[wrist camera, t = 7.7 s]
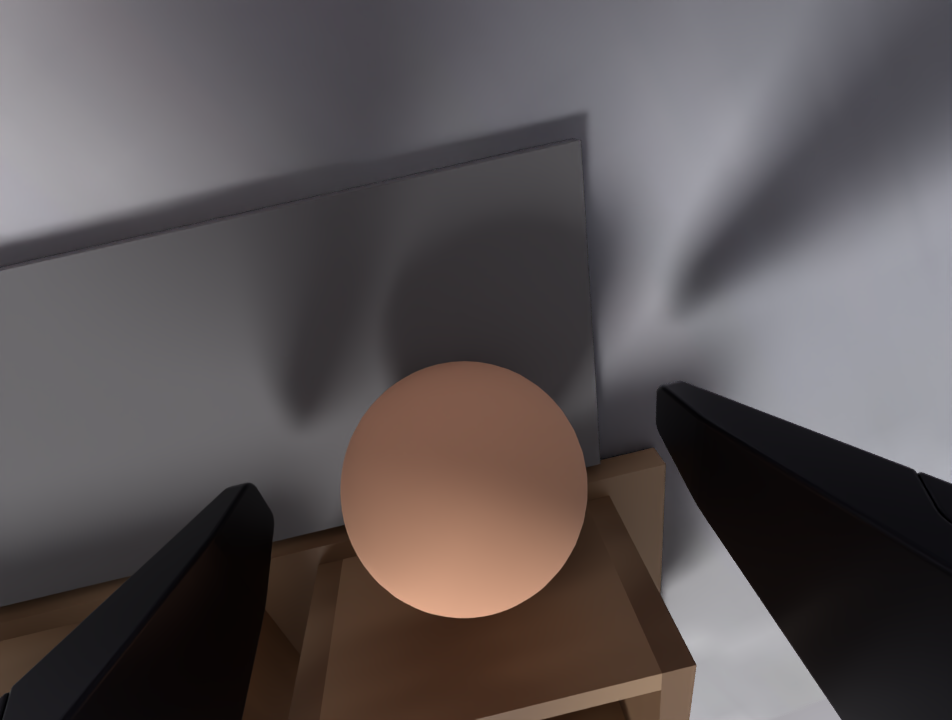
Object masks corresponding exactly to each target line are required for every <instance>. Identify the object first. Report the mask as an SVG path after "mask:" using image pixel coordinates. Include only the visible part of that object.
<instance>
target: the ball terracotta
mask: <svg viewBox="0 0 952 720" xmlns="http://www.w3.org/2000/svg"><path fill="white" fill-rule="evenodd" d="M340 494H341V507H342V514H343V519H344V523H345V527H346V530H347V534H348V536H349V539H350V541H351V544H352V546H353V548H354V550H355V552H356V554H357V556H358V557H359V559H360V561H361V562H362V564H363V565H364V567H365V568H366V569H367V570H368V572H369V573H370V574H371V575H372V577H373V578H374V579H375V580H376V581H377V582H378V583H379V584H380V585H381V586H382V587H384V588H385V589H386V590H387V591H388V592H390V593H391V594H392V595H393V596H395V597H396V598H398V599H399V600H401V601H403V602H404V603H406V604H408V605H410V606H412V607H414V608H417V609H419V610H421V611H424V612H427V613H430V614H435V615H440V616H445V617H452V618H476V617H483V616H488V615H493V614H496V613H500V612H502V611H505V610H508V609H510V608H512V607H514V606H517V605H518V604H520V603H522V602H524V601H525V600H527V599H529V598H530V597H532V596H533V595H535V594H536V593H537V592H539V591H540V590H541V589H542V588H543V587H545V586H546V585H547V584H548V583H549V581H550V580H551V579H552V578H553V577H554V576H555V575H556V574H557V573H558V572H559V571H560V569H561V568H562V567H563V565H564V564H565V562H566V561H567V559H568V557H569V556H570V554H571V552H572V550H573V548H574V547H575V545H576V542H577V539H578V537H579V534H580V531H581V528H582V525H583V522H584V517H585V511H586V505H587V472H586V466H585V461H584V456H583V452H582V449H581V446H580V444H579V441H578V438H577V436H576V433H575V431H574V429H573V427H572V426H571V424H570V422H569V421H568V419H567V417H566V416H565V414H564V413H563V411H562V410H561V409H560V407H559V406H558V405H557V404H556V403H555V402H554V400H553V399H552V398H551V397H550V396H549V395H548V394H547V393H545V392H544V391H543V390H542V389H541V388H540V387H538V386H537V385H536V384H534V383H533V382H531V381H529V380H528V379H526V378H525V377H523V376H521V375H520V374H518V373H515V372H513V371H511V370H509V369H506V368H502V367H499V366H496V365H492V364H487V363H482V362H472V361H457V362H447V363H442V364H437V365H433V366H430V367H426V368H424V369H421V370H419V371H416V372H414V373H412V374H410V375H408V376H407V377H405V378H403V379H401V380H400V381H398V382H397V383H395V384H394V385H393V386H391V387H390V388H389V389H387V390H386V391H385V392H384V393H383V394H382V395H381V396H380V397H379V398H378V399H377V400H376V401H375V402H374V403H373V404H372V405H371V406H370V408H369V409H368V410H367V412H366V413H365V414H364V416H363V417H362V418H361V420H360V422H359V424H358V426H357V427H356V429H355V431H354V433H353V435H352V437H351V439H350V442H349V445H348V448H347V451H346V454H345V458H344V462H343V467H342V473H341V484H340Z"/></svg>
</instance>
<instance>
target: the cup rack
mask: <svg viewBox="0 0 952 720" xmlns="http://www.w3.org/2000/svg"><path fill="white" fill-rule="evenodd" d="M600 462H601V464H598V465H594V466H590V467H586V472H587V505H586V511H585V517H584V522H583V525H582V528H581V531H580V534H579V537H578V539H577V542H576V545H575V547H574V548H573V550H572V552H571V554H570V556H569V557H568V559H567V561H566V562H565V564H564V565H563V567H562V568H561V569H560V571H559V572H558V573H557V574H556V575H555V576H554V577H553V578H552V579H551V580H550V581H549V583H548V584H547V585H546V586H545V587H543V588H542V589H541V590H540V591H539V592H537V593H536V594H535V595H533V596H532V597H530V598H529V599H527V600H525V601H524V602H522V603H520V604H518V605H517V606H514V607H512V608H510V609H508V610H505V611H502V612H500V613H496V614H493V615H488V616H483V617H476V618H452V617H445V616H440V615H435V614H430V613H427V612H424V611H421V610H419V609H417V608H414V607H412V606H410V605H408V604H406V603H404V602H403V601H401V600H399V599H398V598H396V597H395V596H393V595H392V594H391V593H390V592H388V591H387V590H386V589H385V588H384V587H382V586H381V585H380V584H379V583H378V582H377V581H376V580H375V579H374V578H373V577H372V575H371V574H370V573H369V572H368V570H367V569H366V568H365V567H364V565H363V564H362V562H361V561H360V559H359V557H358V556H357V554H356V552H355V550H354V548H353V546H352V544H351V541H350V539H349V536H348V534H347V530H346V527H345V525H342V526H338V527H334V528H329V529H325V530H321V531H317V532H313V533H308V534H304V535H300V536H296V537H292V538H287V539H283V540H279V541H275V542H273V544H272V553H271V563H270V572H269V582H268V592H267V600H266V607H265V613H264V618H263V623H262V628H261V633H260V637H259V642H258V647H257V652H256V656H255V661H254V666H253V670H252V675H251V680H250V685H249V689H248V694H247V699H246V703H245V708H244V713H243V718H242V720H689V717H690V709H691V702H692V694H693V687H694V679H695V672H696V663H695V661H694V659H693V657H692V656H691V654H690V652H689V650H688V648H687V646H686V644H685V642H684V640H683V638H682V636H681V634H680V632H679V630H678V628H677V626H676V624H675V622H674V620H673V619H672V617H671V615H670V613H669V611H668V609H667V607H666V605H665V603H664V601H663V599H662V597H661V595H660V591H661V568H662V544H663V520H664V496H665V473H666V464H665V462H664V461H663V460H662V458H661V457H660V455H659V454H658V453H657V451H656V450H655V448H650V449H645V450H641V451H637V452H633V453H629V454H624V455H620V456H616V457H612V458H608V459H603V460H600ZM130 577H131V576H128V577H124V578H119V579H115V580H111V581H107V582H103V583H98V584H94V585H90V586H86V587H82V588H77V589H73V590H69V591H65V592H61V593H56V594H52V595H48V596H44V597H40V598H35V599H31V600H27V601H23V602H19V603H14V604H10V605H6V606H2V607H0V697H1V696H2V695H3V694H5V693H8V692H10V689H11V687H12V686H13V685H14V684H15V683H16V682H17V681H19V680H20V679H21V678H22V677H23V676H24V675H25V674H26V673H27V672H28V671H29V670H30V669H31V668H33V667H34V666H35V665H36V664H37V663H38V662H39V661H40V660H41V659H42V658H43V657H44V656H45V655H47V654H48V653H49V652H50V651H51V650H52V649H53V648H54V647H55V646H56V645H57V644H58V643H59V642H61V641H62V640H63V639H64V638H65V637H66V636H67V635H68V634H69V633H70V632H71V631H72V630H74V629H75V628H76V627H77V626H78V625H79V624H80V623H81V622H82V621H83V620H84V619H85V618H86V617H88V616H89V615H90V614H91V613H92V612H93V611H94V610H95V609H96V608H97V607H98V606H99V605H100V604H102V603H103V602H104V601H105V600H106V599H107V598H108V597H109V596H110V595H111V594H112V593H113V592H114V591H116V590H117V589H118V588H119V587H120V586H121V585H122V584H123V583H124V582H125V581H126V580H127V579H128V578H130Z"/></svg>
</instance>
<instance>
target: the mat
mask: <svg viewBox="0 0 952 720" xmlns="http://www.w3.org/2000/svg"><path fill="white" fill-rule="evenodd" d="M457 361H472V362H482V363H487V364H492V365H496V366H499V367H502V368H506V369H509V370H511V371H513V372H515V373H518V374H520V375H521V376H523V377H525V378H526V379H528V380H529V381H531V382H533V383H534V384H536V385H537V386H538V387H540V388H541V389H542V390H543V391H544V392H545V393H547V394H548V395H549V396H550V397H551V398H552V399H553V400H554V402H555V403H556V404H557V405H558V406H559V407H560V409H561V410H562V411H563V413H564V414H565V416H566V417H567V419H568V421H569V422H570V424H571V426H572V427H573V429H574V431H575V433H576V436H577V438H578V441H579V444H580V446H581V449H582V452H583V456H584V461H585V466H586V467H590V466H594V465H598V464H601V462H600V446H599V429H598V413H597V397H596V380H595V364H594V348H593V331H592V315H591V299H590V282H589V266H588V250H587V233H586V217H585V201H584V184H583V168H582V152H581V140H577V139H569V140H565V141H560V142H556V143H551V144H547V145H542V146H538V147H533V148H529V149H525V150H520V151H516V152H511V153H507V154H502V155H498V156H493V157H489V158H484V159H480V160H476V161H471V162H467V163H462V164H458V165H453V166H449V167H444V168H440V169H436V170H431V171H427V172H422V173H418V174H413V175H409V176H404V177H400V178H396V179H391V180H387V181H382V182H378V183H373V184H369V185H364V186H360V187H356V188H351V189H347V190H342V191H338V192H333V193H329V194H324V195H320V196H316V197H311V198H307V199H302V200H298V201H293V202H289V203H284V204H280V205H276V206H271V207H267V208H262V209H258V210H253V211H249V212H244V213H240V214H236V215H231V216H227V217H222V218H218V219H213V220H209V221H204V222H200V223H196V224H191V225H187V226H182V227H178V228H173V229H169V230H164V231H160V232H156V233H151V234H147V235H142V236H138V237H133V238H129V239H124V240H120V241H116V242H111V243H107V244H102V245H98V246H93V247H89V248H84V249H80V250H76V251H71V252H67V253H62V254H58V255H53V256H49V257H44V258H40V259H36V260H31V261H27V262H22V263H18V264H13V265H9V266H4V267H0V607H2V606H6V605H10V604H14V603H19V602H23V601H27V600H31V599H35V598H40V597H44V596H48V595H52V594H56V593H61V592H65V591H69V590H73V589H77V588H82V587H86V586H90V585H94V584H98V583H103V582H107V581H111V580H115V579H119V578H124V577H128V576H132V575H133V574H134V573H135V572H136V571H137V570H138V569H139V568H140V567H141V566H142V565H144V564H145V563H146V562H147V561H148V560H149V559H150V558H151V557H152V556H153V555H154V554H155V553H157V552H158V551H159V550H160V549H161V548H162V547H163V546H164V545H165V544H166V543H167V542H168V541H169V540H171V539H172V538H173V537H174V536H175V535H176V534H177V533H178V532H179V531H180V530H181V529H182V528H183V527H185V526H186V525H187V524H188V523H189V522H190V521H191V520H192V519H193V518H194V517H195V516H196V515H197V514H199V513H200V512H201V511H202V510H203V509H204V508H205V507H206V506H207V505H208V504H209V503H210V502H211V501H213V500H214V499H215V498H216V497H217V496H218V495H219V494H220V493H221V492H222V491H223V490H225V489H226V488H228V487H230V486H234V485H238V484H242V483H247V482H249V483H253V484H254V485H255V486H256V487H257V489H258V490H259V492H260V493H261V495H262V497H263V498H264V500H265V501H266V503H267V504H268V506H269V508H270V509H271V511H272V513H273V516H274V534H273V542H275V541H279V540H283V539H287V538H292V537H296V536H300V535H304V534H308V533H313V532H317V531H321V530H325V529H329V528H334V527H338V526H342V525H345V523H344V519H343V514H342V507H341V494H340V484H341V473H342V467H343V462H344V458H345V454H346V451H347V448H348V445H349V442H350V439H351V437H352V435H353V433H354V431H355V429H356V427H357V426H358V424H359V422H360V420H361V418H362V417H363V416H364V414H365V413H366V412H367V410H368V409H369V408H370V406H371V405H372V404H373V403H374V402H375V401H376V400H377V399H378V398H379V397H380V396H381V395H382V394H383V393H384V392H385V391H386V390H387V389H389V388H390V387H391V386H393V385H394V384H395V383H397V382H398V381H400V380H401V379H403V378H405V377H407V376H408V375H410V374H412V373H414V372H416V371H419V370H421V369H424V368H426V367H430V366H433V365H437V364H442V363H447V362H457Z"/></svg>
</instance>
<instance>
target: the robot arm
mask: <svg viewBox="0 0 952 720" xmlns="http://www.w3.org/2000/svg"><path fill="white" fill-rule="evenodd" d="M656 425H657V429H658V432H659V434H660V436H661V438H662V440H663V442H664V444H665V446H666V447H667V449H668V451H669V453H670V455H671V457H672V459H673V461H674V463H675V465H676V467H677V468H678V470H679V472H680V474H681V476H682V478H683V480H684V482H685V484H686V486H687V488H688V489H689V491H690V493H691V495H692V497H693V499H694V500H695V502H696V504H697V506H698V507H699V509H700V510H701V512H702V513H703V515H704V517H705V518H706V520H707V521H708V523H709V524H710V525H711V527H712V528H713V530H714V531H715V533H716V534H717V536H718V537H719V539H720V540H721V542H722V543H723V545H724V546H725V548H726V549H727V551H728V552H729V554H730V555H731V557H732V558H733V560H734V561H735V563H736V564H737V566H738V567H739V568H740V570H741V571H742V573H743V574H744V576H745V577H746V579H747V580H748V582H749V583H750V585H751V586H752V588H753V589H754V591H755V592H756V594H757V595H758V597H759V598H760V600H761V601H762V603H763V604H764V606H765V607H766V609H767V610H768V611H769V613H770V614H771V616H772V617H773V619H774V620H775V622H776V623H777V625H778V626H779V628H780V629H781V631H782V632H783V634H784V635H785V637H786V638H787V640H788V641H789V643H790V644H791V646H792V647H793V649H794V650H795V652H796V653H797V654H798V656H799V657H800V659H801V660H802V662H803V663H804V665H805V666H806V668H807V669H808V671H809V672H810V674H811V675H812V677H813V678H814V680H815V681H816V683H817V684H818V686H819V687H820V689H821V690H822V692H823V693H824V695H825V696H826V697H827V699H828V700H829V702H830V703H831V705H832V706H833V708H834V709H835V711H836V712H837V714H838V715H839V717H840V718H841V720H952V484H951V483H949V482H946V481H944V480H941V479H938V478H936V477H933V476H930V475H928V474H925V473H922V472H920V473H916V471H915V470H914V469H912V468H909V467H906V466H904V465H901V464H899V463H896V462H893V461H891V460H888V459H885V458H883V457H880V456H878V455H875V454H872V453H870V452H867V451H865V450H862V449H859V448H857V447H854V446H851V445H849V444H846V443H844V442H841V441H838V440H836V439H833V438H830V437H828V436H825V435H823V434H820V433H817V432H815V431H812V430H809V429H807V428H804V427H802V426H799V425H796V424H794V423H791V422H788V421H786V420H783V419H781V418H778V417H775V416H773V415H770V414H767V413H765V412H762V411H760V410H757V409H754V408H752V407H749V406H746V405H744V404H741V403H739V402H736V401H733V400H731V399H728V398H726V397H723V396H720V395H718V394H715V393H712V392H710V391H707V390H705V389H702V388H699V387H697V386H694V385H691V384H689V383H686V382H683V381H676V382H672V383H668V384H663V385H661V386H659V387H658V389H657V396H656ZM273 534H274V516H273V513H272V511H271V509H270V508H269V506H268V504H267V503H266V501H265V500H264V498H263V497H262V495H261V493H260V492H259V490H258V489H257V487H256V486H255V485H254V484H253V483H249V482H247V483H242V484H238V485H234V486H230V487H228V488H226V489H225V490H223V491H222V492H221V493H220V494H219V495H218V496H217V497H216V498H215V499H214V500H213V501H211V502H210V503H209V504H208V505H207V506H206V507H205V508H204V509H203V510H202V511H201V512H200V513H199V514H197V515H196V516H195V517H194V518H193V519H192V520H191V521H190V522H189V523H188V524H187V525H186V526H185V527H183V528H182V529H181V530H180V531H179V532H178V533H177V534H176V535H175V536H174V537H173V538H172V539H171V540H169V541H168V542H167V543H166V544H165V545H164V546H163V547H162V548H161V549H160V550H159V551H158V552H157V553H155V554H154V555H153V556H152V557H151V558H150V559H149V560H148V561H147V562H146V563H145V564H144V565H142V566H141V567H140V568H139V569H138V570H137V571H136V572H135V573H134V574H133V575H132V576H131V577H130V578H128V579H127V580H126V581H125V582H124V583H123V584H122V585H121V586H120V587H119V588H118V589H117V590H116V591H114V592H113V593H112V594H111V595H110V596H109V597H108V598H107V599H106V600H105V601H104V602H103V603H102V604H100V605H99V606H98V607H97V608H96V609H95V610H94V611H93V612H92V613H91V614H90V615H89V616H88V617H86V618H85V619H84V620H83V621H82V622H81V623H80V624H79V625H78V626H77V627H76V628H75V629H74V630H72V631H71V632H70V633H69V634H68V635H67V636H66V637H65V638H64V639H63V640H62V641H61V642H59V643H58V644H57V645H56V646H55V647H54V648H53V649H52V650H51V651H50V652H49V653H48V654H47V655H45V656H44V657H43V658H42V659H41V660H40V661H39V662H38V663H37V664H36V665H35V666H34V667H33V668H31V669H30V670H29V671H28V672H27V673H26V674H25V675H24V676H23V677H22V678H21V679H20V680H19V681H17V682H16V683H15V684H14V685H13V686H12V687H11V689H10V692H8V693H5V694H3V695H2V696H1V697H0V720H242V718H243V713H244V708H245V703H246V699H247V694H248V689H249V685H250V680H251V675H252V670H253V666H254V661H255V656H256V652H257V647H258V642H259V637H260V633H261V628H262V623H263V618H264V613H265V607H266V600H267V592H268V582H269V572H270V563H271V553H272V544H273Z"/></svg>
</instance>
